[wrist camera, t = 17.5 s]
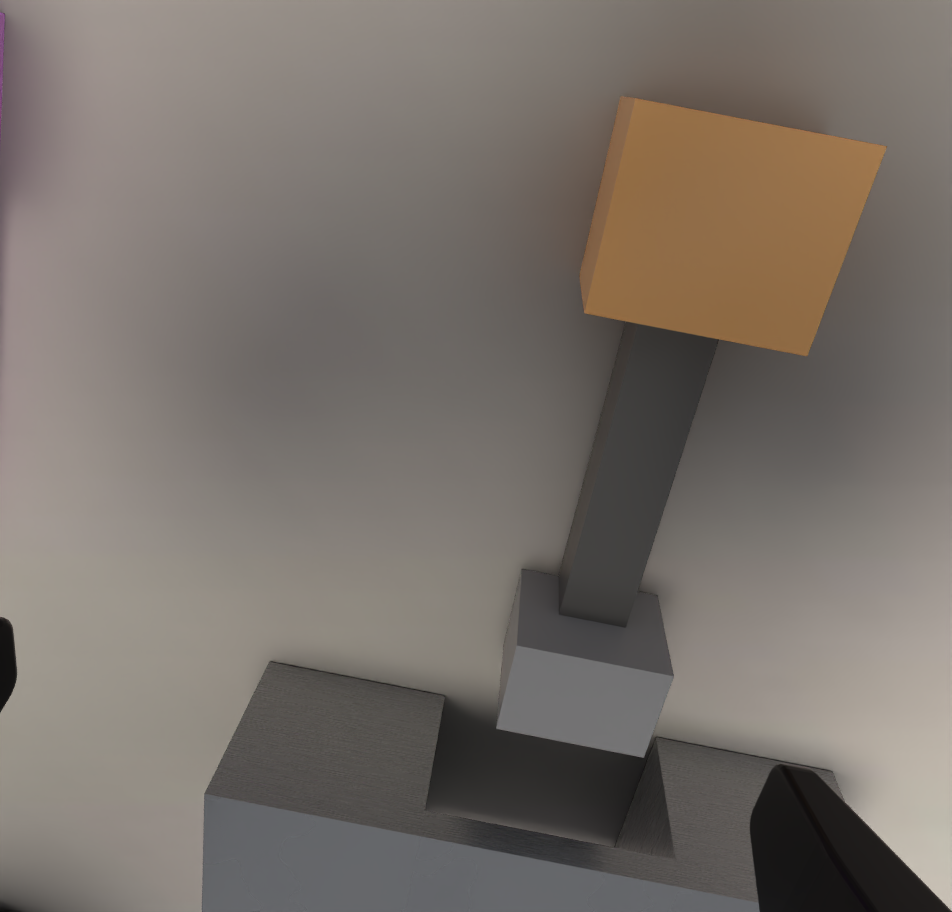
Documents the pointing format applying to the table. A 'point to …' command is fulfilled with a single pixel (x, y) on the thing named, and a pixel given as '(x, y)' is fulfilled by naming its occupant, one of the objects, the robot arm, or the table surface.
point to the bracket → (1, 59)
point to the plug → (669, 382)
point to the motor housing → (449, 819)
